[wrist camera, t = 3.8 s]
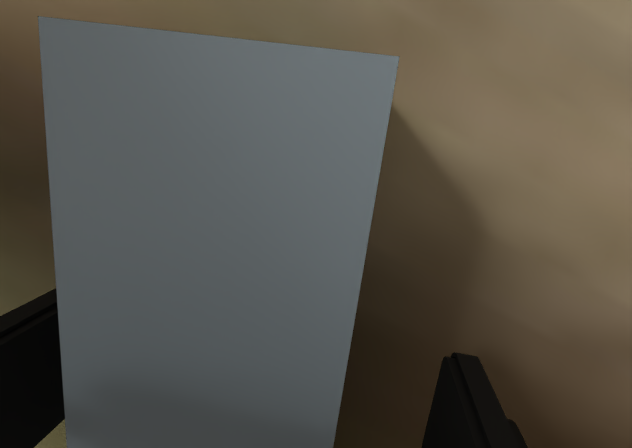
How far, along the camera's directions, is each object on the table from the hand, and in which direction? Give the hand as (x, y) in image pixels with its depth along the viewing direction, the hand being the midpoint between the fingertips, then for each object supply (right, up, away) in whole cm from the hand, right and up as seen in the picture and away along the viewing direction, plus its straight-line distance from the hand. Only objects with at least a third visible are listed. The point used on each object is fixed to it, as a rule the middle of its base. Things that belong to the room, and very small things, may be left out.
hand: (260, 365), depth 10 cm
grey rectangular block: (0, +1, +3) cm, 3 cm away
